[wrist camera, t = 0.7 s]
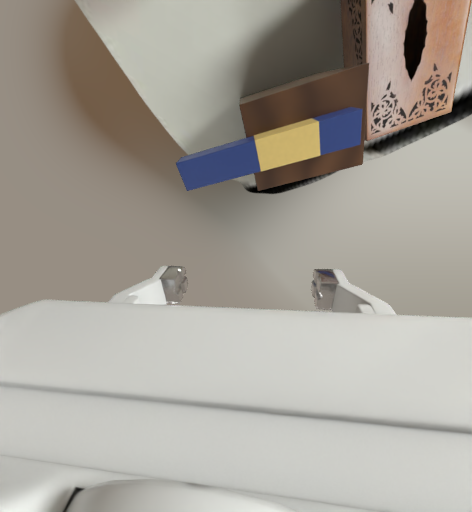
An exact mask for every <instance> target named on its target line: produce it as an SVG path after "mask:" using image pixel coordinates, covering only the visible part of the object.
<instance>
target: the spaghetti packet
mask: <svg viewBox="0 0 472 512" xmlns="http://www.w3.org/2000/svg"><path fill="white" fill-rule="evenodd" d="M361 123H362V109H360V108H354V107H349V108H345V109H342V110H339V111H335V112H332V113H329V114H325V115H322V116H318V117H315V118H311V119H307V120H304V121H301V122H297V123H294V124H291V125H287V126H284V127H280V128H277V129H274V130H270V131H267V132H264V133H260V134H257V135H254V136H251V137H248V138H244V139H241V140H238V141H234V142H231V143H228V144H224V145H221V146H218V147H214V148H211V149H207V150H204V151H201V152H197V153H194V154H191V155H187V156H184V157H181V158H180V160H179V161H178V162H177V163H176V165H177V168H178V170H179V172H180V175H181V177H182V180H183V182H184V184H185V187H186V189H187V191H189V190H193V189H196V188H200V187H204V186H207V185H211V184H215V183H219V182H223V181H226V180H229V179H234V178H238V177H241V176H245V175H249V174H252V173H256V172H260V171H265V170H269V169H272V168H276V167H280V166H284V165H287V164H291V163H295V162H298V161H302V160H306V159H310V158H313V157H317V156H320V155H323V154H327V153H331V152H335V151H338V150H342V149H346V148H350V147H353V146H357V145H360V140H361Z"/></svg>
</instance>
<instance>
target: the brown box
mask: <svg viewBox="0 0 472 512" xmlns="http://www.w3.org/2000/svg"><path fill="white" fill-rule="evenodd" d="M368 75H369V63H365V64H360V65H355V66H350V67H345V68H340V69H335V70H330V71H326V72H321V73H316V74H313V75H310V76H306V77H303V78H300V79H297V80H294V81H291V82H288V83H285V84H282V85H279V86H276V87H273V88H270V89H267V90H264V91H261V92H258V93H255V94H252V95H249V96H246V97H243V98H240V104H239V106H240V110H241V115H242V119H243V124H244V129H245V133H246V138H248V137H251V136H254V135H257V134H260V133H264V132H267V131H270V130H274V129H277V128H280V127H284V126H287V125H291V124H294V123H297V122H301V121H304V120H307V119H311V118H315V117H318V116H322V115H325V114H329V113H332V112H335V111H339V110H342V109H345V108H349V107H354V108H360V109H362V123H361V140H360V145H357V146H353V147H350V148H346V149H342V150H338V151H335V152H331V153H327V154H323V155H320V156H317V157H313V158H310V159H306V160H302V161H298V162H295V163H291V164H287V165H284V166H280V167H276V168H272V169H269V170H265V171H260V172H256V173H254V175H255V180H256V184H257V189H258V191H260V190H263V189H267V188H271V187H275V186H279V185H283V184H287V183H291V182H295V181H299V180H303V179H307V178H311V177H315V176H319V175H323V174H327V173H331V172H335V171H339V170H342V169H346V168H350V167H354V166H358V165H362V164H363V150H364V135H365V120H366V105H367V90H368Z"/></svg>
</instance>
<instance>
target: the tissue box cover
mask: <svg viewBox="0 0 472 512" xmlns="http://www.w3.org/2000/svg"><path fill="white" fill-rule="evenodd" d="M470 5H471V0H341V19H342V37H343V56H344V68H345V67H350V66H355V65H360V64H365V63H369V75H368V90H367V105H366V120H365V135H364V140H366V141H369V140H371V139H374V138H377V137H380V136H383V135H386V134H389V133H391V132H394V131H397V130H400V129H403V128H406V127H409V126H411V125H414V124H417V123H420V122H423V121H426V120H429V119H431V118H434V117H437V116H440V115H443V114H446V113H449V112H451V110H452V104H453V99H454V93H455V88H456V82H457V77H458V71H459V66H460V60H461V55H462V49H463V44H464V38H465V33H466V27H467V22H468V16H469V11H470Z"/></svg>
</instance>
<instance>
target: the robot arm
mask: <svg viewBox="0 0 472 512" xmlns="http://www.w3.org/2000/svg"><path fill="white" fill-rule="evenodd" d="M185 274H186V270H185V267H180V266H161V267H160V268H159V269H158V271H157V272H156V273H155V274H154V275H153V277H152V278H151V279H147V280H145V281H143V282H141V283H139V284H136V285H134V286H132V287H130V288H128V289H126V290H124V291H121V292H119V293H117V294H115V295H114V296H113V297H112V298H111V299H110V301H109V302H107V303H106V302H85V301H62V300H40V301H37V302H34V303H30V304H27V305H24V306H22V307H19V308H16V309H13V310H10V311H8V312H5V313H3V314H0V512H472V318H461V317H436V316H414V315H396V314H395V312H394V311H393V309H392V308H391V307H390V306H389V304H387V303H385V302H383V301H381V300H380V299H378V298H376V297H374V296H372V295H371V294H369V293H367V292H365V291H363V290H362V289H360V288H358V287H356V286H354V285H352V284H349V282H348V281H347V279H346V277H345V275H344V274H343V272H342V270H341V269H315V270H314V272H313V277H314V280H313V281H312V295H313V297H314V298H315V300H314V302H315V306H316V309H324V310H325V309H326V310H332V311H333V312H320V311H296V310H273V309H249V308H225V307H202V306H178V305H166V304H167V303H180V302H181V300H182V298H183V293H185V292H186V290H187V286H188V280H187V278H186V277H185V276H184V275H185Z"/></svg>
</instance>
